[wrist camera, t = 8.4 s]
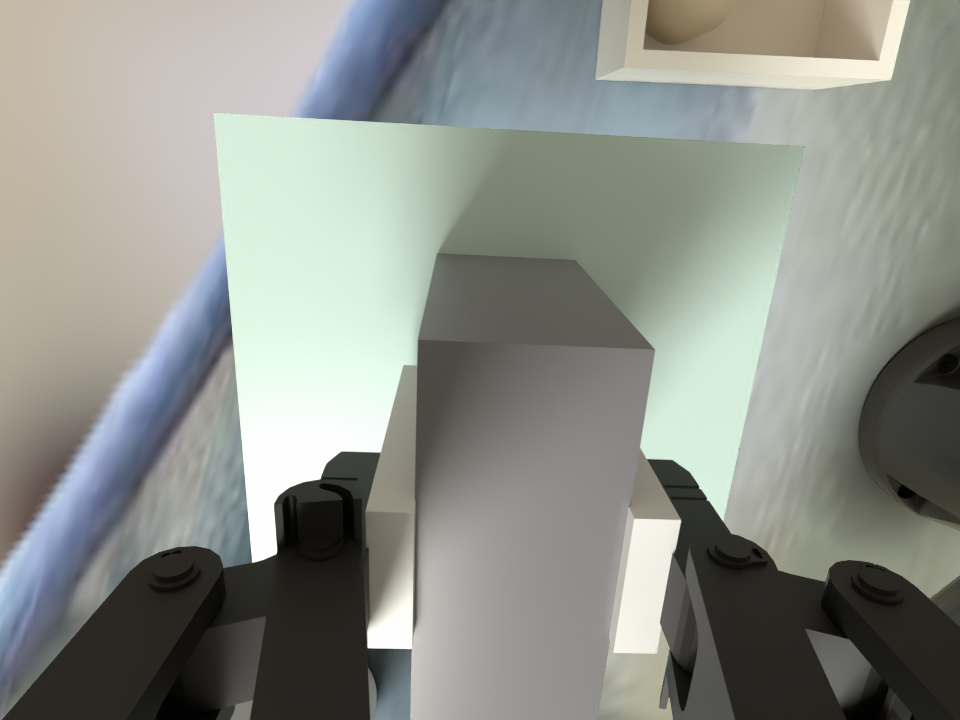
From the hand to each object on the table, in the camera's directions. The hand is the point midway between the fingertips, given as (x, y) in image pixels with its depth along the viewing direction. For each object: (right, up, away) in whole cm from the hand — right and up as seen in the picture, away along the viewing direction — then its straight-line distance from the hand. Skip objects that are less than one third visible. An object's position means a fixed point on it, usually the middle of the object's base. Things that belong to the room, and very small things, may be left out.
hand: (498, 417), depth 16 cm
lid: (0, +1, +2) cm, 2 cm away
